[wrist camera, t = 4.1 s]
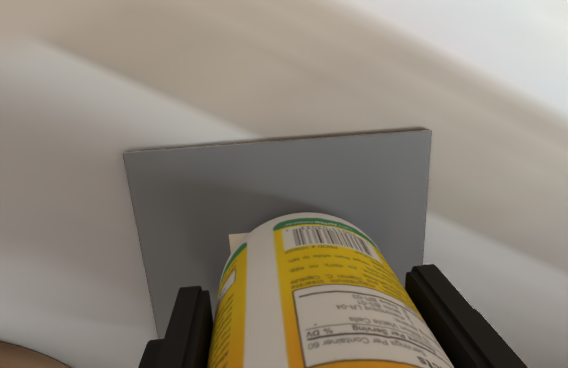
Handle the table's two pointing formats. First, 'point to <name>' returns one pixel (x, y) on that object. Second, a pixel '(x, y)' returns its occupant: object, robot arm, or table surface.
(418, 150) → the gray tile
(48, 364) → the walnut coaster
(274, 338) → the supplement bottle
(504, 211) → the table surface
